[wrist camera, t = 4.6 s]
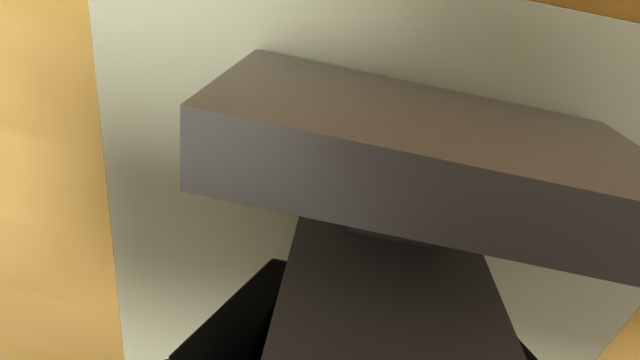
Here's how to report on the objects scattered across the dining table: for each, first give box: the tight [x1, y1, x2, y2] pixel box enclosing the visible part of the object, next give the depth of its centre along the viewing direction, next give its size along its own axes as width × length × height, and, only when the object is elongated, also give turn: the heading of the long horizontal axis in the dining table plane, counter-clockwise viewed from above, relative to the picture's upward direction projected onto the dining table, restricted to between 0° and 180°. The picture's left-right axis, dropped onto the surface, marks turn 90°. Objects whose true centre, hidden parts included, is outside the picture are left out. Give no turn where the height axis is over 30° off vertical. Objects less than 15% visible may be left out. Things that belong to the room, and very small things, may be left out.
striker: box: [180, 49, 640, 360], centre depth 7 cm, size 7×7×6 cm
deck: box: [88, 0, 640, 360], centre depth 13 cm, size 21×14×2 cm, turn 170°
